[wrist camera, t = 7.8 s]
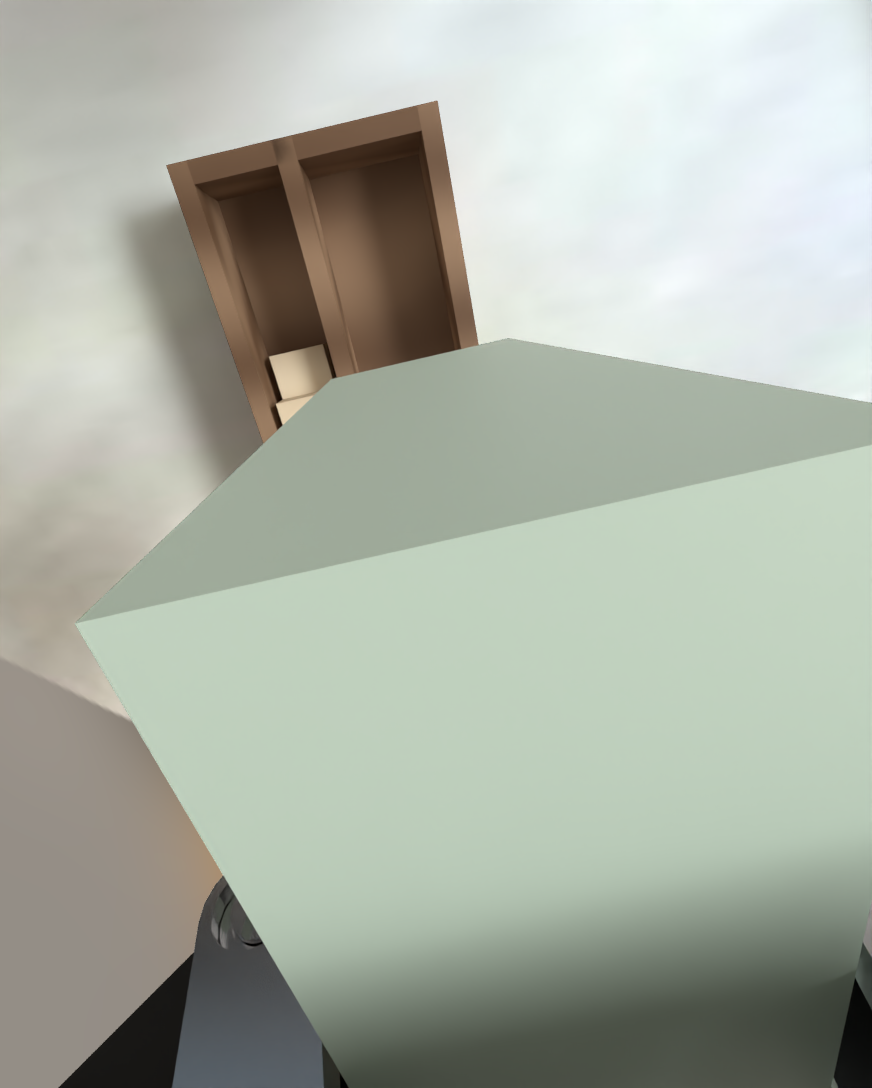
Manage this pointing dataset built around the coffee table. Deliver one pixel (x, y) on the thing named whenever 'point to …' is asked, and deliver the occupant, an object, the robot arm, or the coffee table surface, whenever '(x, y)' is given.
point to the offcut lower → (303, 370)
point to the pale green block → (532, 717)
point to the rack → (331, 248)
